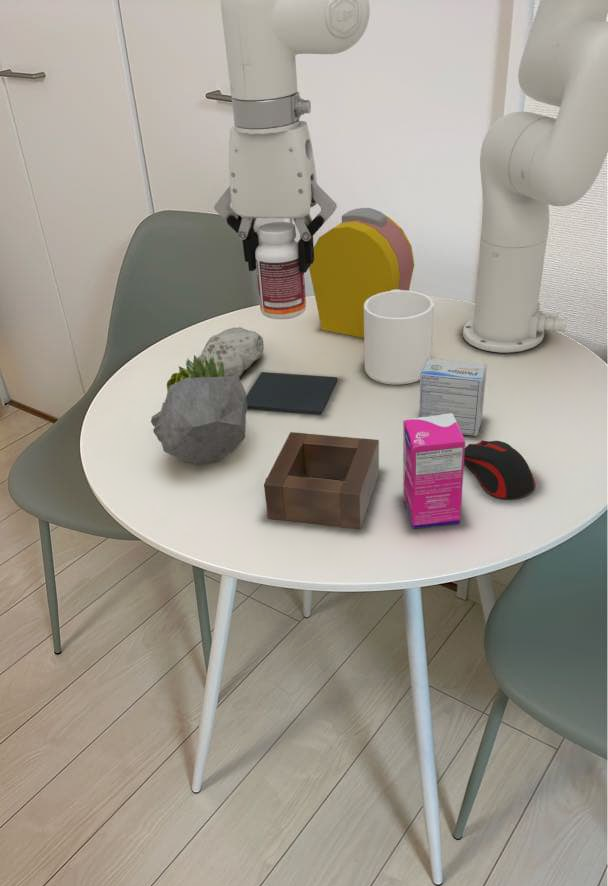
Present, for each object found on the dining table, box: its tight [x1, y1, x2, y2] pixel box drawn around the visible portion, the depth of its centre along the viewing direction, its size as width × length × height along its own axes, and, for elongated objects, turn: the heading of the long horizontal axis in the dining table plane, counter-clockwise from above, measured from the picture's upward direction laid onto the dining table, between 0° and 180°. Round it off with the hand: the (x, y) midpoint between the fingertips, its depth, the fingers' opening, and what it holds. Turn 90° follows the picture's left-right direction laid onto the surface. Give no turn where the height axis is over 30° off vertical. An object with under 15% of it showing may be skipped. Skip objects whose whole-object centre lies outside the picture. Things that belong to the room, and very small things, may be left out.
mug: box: [363, 289, 435, 386], centre depth 112 cm, size 13×10×10 cm
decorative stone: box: [198, 326, 265, 379], centre depth 117 cm, size 12×11×5 cm
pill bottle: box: [255, 221, 307, 320], centre depth 98 cm, size 6×6×11 cm
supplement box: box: [402, 413, 466, 529], centre depth 84 cm, size 6×6×12 cm
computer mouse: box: [464, 440, 537, 500], centre depth 91 cm, size 6×11×4 cm, turn 20°
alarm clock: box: [308, 207, 415, 339], centre depth 121 cm, size 15×8×18 cm, turn 59°
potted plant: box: [150, 354, 248, 466], centre depth 99 cm, size 12×13×15 cm
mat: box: [246, 371, 338, 416], centre depth 111 cm, size 12×10×1 cm
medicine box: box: [418, 358, 488, 437], centre depth 99 cm, size 8×4×9 cm, turn 71°
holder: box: [263, 431, 380, 530], centre depth 90 cm, size 11×11×5 cm
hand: (280, 266), depth 98 cm, fingers closed on pill bottle, 6 cm apart
